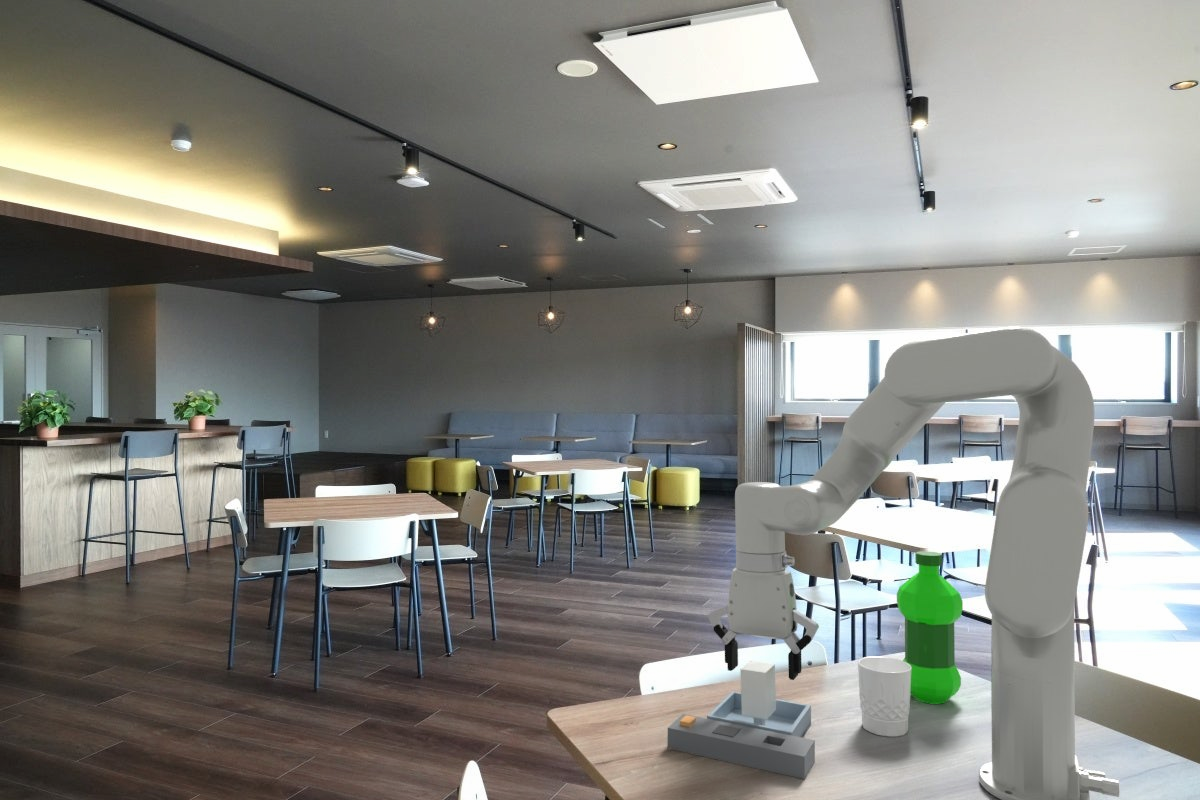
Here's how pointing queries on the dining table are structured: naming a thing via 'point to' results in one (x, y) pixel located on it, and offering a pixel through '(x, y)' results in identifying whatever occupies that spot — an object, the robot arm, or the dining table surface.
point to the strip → (743, 745)
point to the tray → (783, 720)
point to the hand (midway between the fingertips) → (762, 672)
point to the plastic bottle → (930, 630)
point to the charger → (758, 691)
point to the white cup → (884, 695)
